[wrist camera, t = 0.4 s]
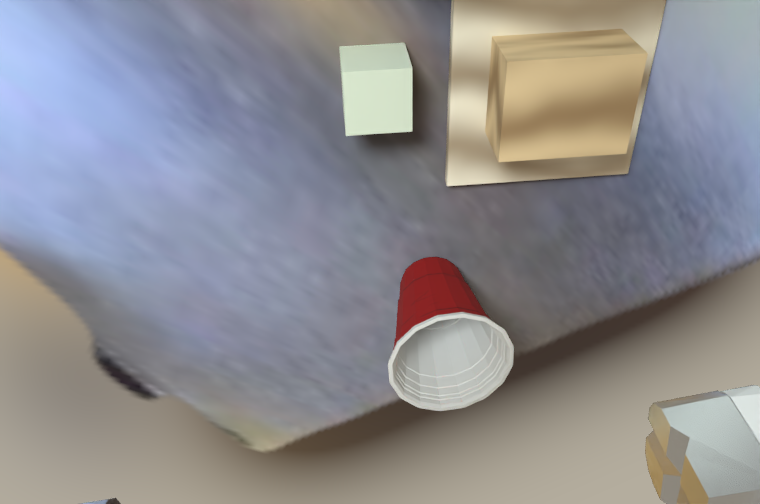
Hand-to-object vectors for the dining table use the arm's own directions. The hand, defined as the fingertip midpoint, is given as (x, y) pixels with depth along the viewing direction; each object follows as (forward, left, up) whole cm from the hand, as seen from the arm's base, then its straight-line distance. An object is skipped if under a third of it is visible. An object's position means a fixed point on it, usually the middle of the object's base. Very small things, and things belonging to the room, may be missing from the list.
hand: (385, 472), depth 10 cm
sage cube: (+13, +3, -45) cm, 47 cm away
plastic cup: (+34, +8, -45) cm, 57 cm away
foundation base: (+14, +17, -45) cm, 50 cm away
